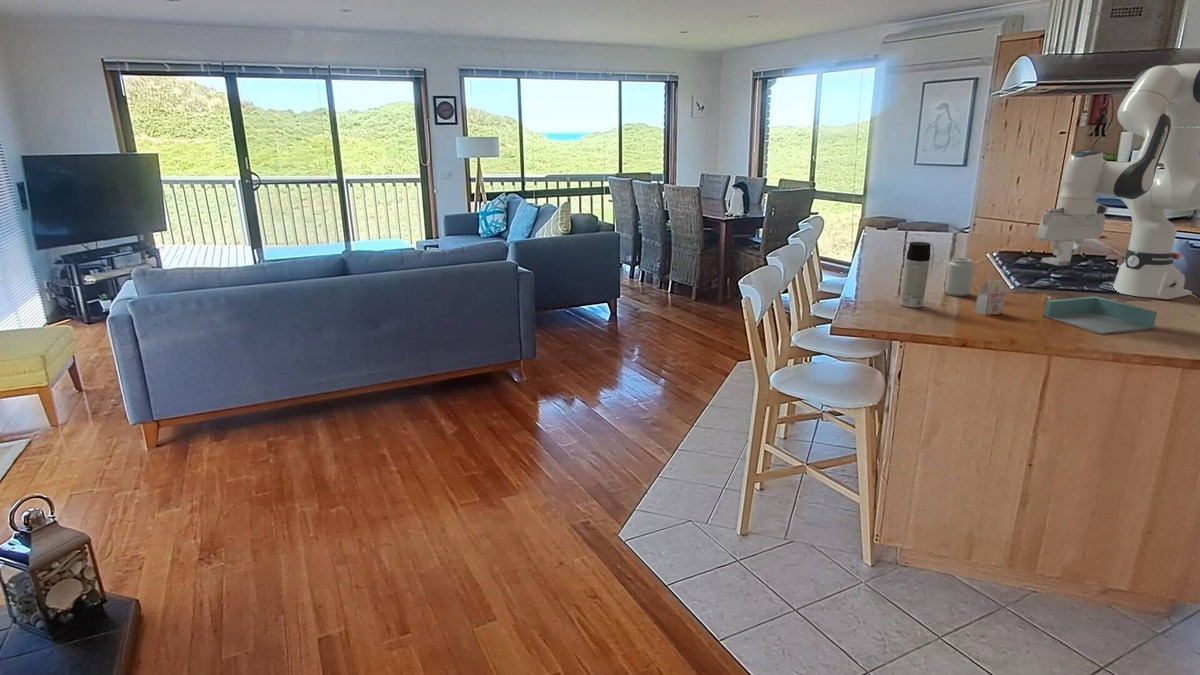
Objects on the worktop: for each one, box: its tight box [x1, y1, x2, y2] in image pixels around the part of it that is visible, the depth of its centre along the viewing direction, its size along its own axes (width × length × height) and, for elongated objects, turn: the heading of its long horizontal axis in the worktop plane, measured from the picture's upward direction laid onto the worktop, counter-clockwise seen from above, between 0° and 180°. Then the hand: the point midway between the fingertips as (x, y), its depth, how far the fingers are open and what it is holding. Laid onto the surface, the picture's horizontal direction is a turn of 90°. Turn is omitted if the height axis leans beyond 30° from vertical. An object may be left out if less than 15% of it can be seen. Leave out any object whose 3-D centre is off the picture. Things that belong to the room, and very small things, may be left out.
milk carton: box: [974, 279, 1006, 315], centre depth 196 cm, size 4×7×10 cm, turn 109°
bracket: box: [1041, 240, 1074, 266], centre depth 196 cm, size 6×4×7 cm, turn 13°
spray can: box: [899, 241, 931, 309], centre depth 204 cm, size 7×7×20 cm
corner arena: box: [1043, 295, 1158, 335], centre depth 186 cm, size 18×18×5 cm
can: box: [944, 257, 975, 297], centre depth 218 cm, size 8×8×12 cm
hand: (1064, 254), depth 194 cm, fingers closed on bracket, 4 cm apart
